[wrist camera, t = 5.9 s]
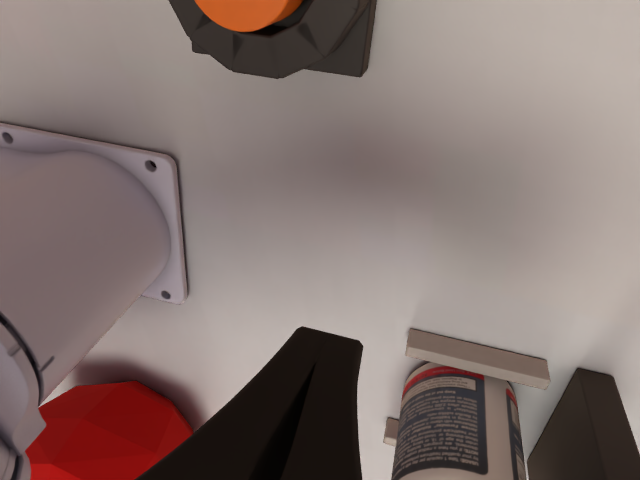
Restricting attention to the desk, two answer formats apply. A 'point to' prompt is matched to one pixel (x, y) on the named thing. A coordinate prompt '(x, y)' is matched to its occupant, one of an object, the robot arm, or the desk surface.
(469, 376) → the pill bottle
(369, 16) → the block
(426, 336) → the upright grey panel
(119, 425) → the apple
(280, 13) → the button
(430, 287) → the desk surface
